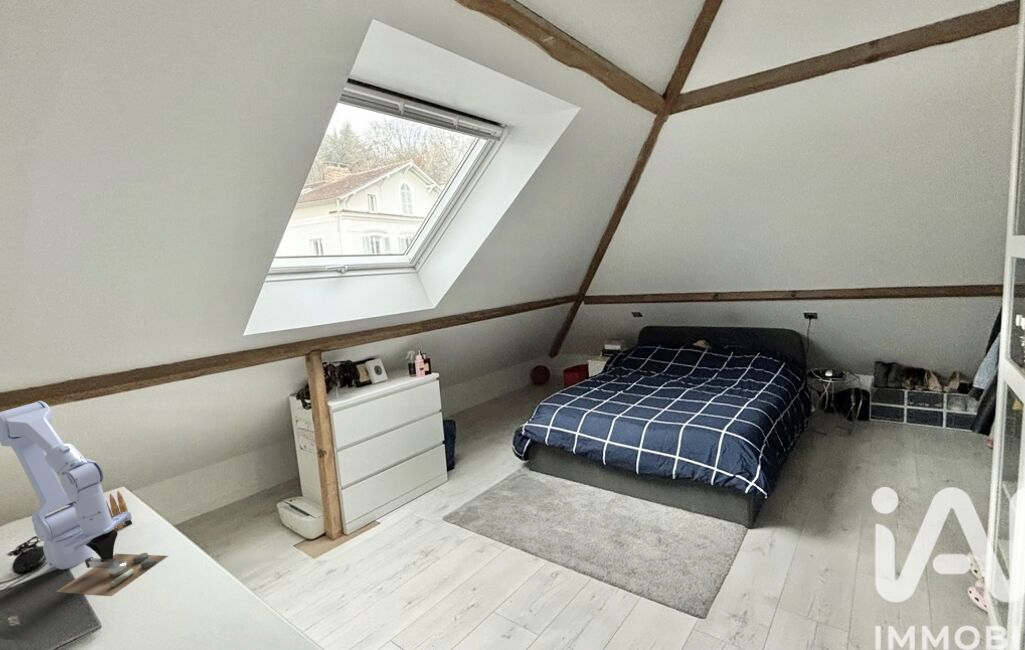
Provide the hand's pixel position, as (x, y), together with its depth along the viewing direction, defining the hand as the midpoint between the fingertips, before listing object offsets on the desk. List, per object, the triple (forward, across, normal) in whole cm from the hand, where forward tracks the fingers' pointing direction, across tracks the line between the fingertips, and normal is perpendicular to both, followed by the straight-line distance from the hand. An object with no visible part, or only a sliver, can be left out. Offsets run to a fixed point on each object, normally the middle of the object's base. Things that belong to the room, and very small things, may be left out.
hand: (108, 561), depth 120 cm
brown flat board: (+3, -1, -3) cm, 5 cm away
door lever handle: (+2, -1, -1) cm, 2 cm away
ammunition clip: (+3, +15, +21) cm, 26 cm away
